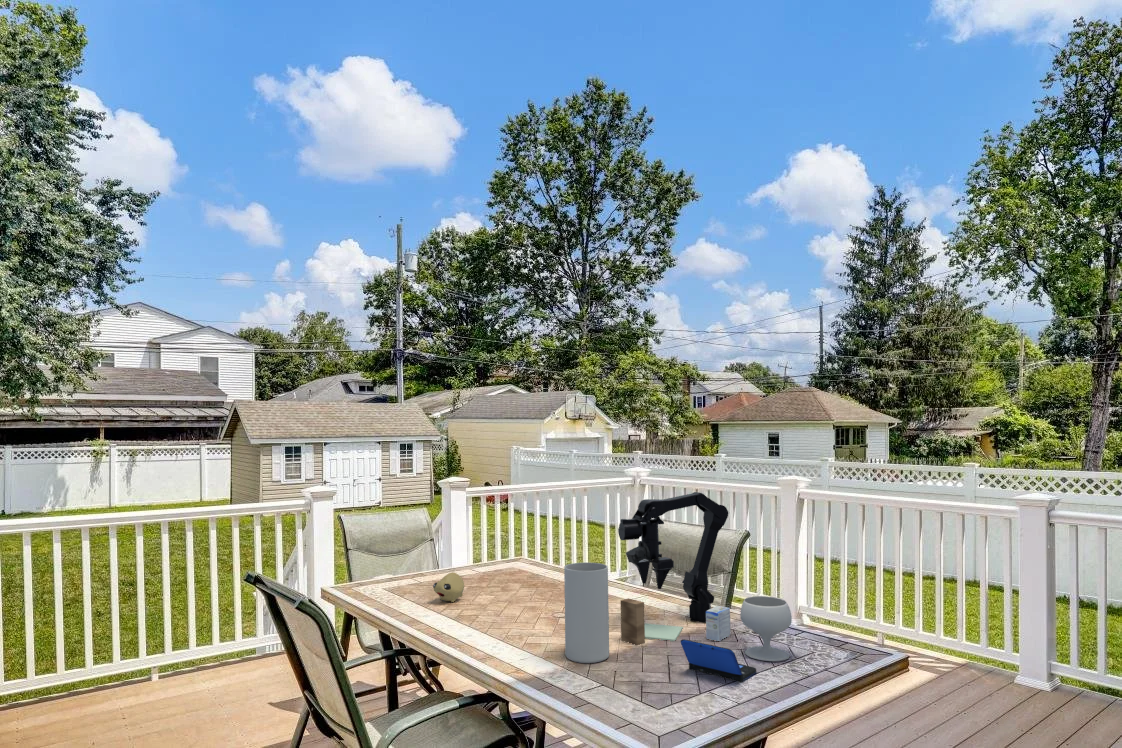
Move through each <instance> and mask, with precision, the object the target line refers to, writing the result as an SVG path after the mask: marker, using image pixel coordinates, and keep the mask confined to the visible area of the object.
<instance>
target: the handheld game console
mask: <svg viewBox="0 0 1122 748" xmlns="http://www.w3.org/2000/svg"><path fill="white" fill-rule="evenodd" d="M680 645H681V648H682V649H683V652H684V655H685V658H686V660H687V661H688V669H689V670H691V671H695V672H700V673H703V674H707V675H712V676H713V675H714V676H718V677H719V678H720V677H721V678H723V679H728V680H732V681H735V682H737V683H738V682H740V683H744V681H745V680H747V679H749V678H750V677H752V676H754V675H755V674H756V673H757V668H756V667H754V666H749V665H746V664H742V663H739V662H738V658H737V656H736V654H735V652H734V651H733V649H730V648H726V647H723V646H717V645H711V644H708V643H703V642H698V641H694V640H688V639H683V638H682V639H681V640H680Z"/></svg>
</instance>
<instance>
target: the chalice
mask: <svg viewBox="0 0 1122 748" xmlns="http://www.w3.org/2000/svg"><path fill="white" fill-rule="evenodd" d="M739 616H740V620H741V622H742V623H743V625H744V626H746V628H748V629H750V631H752V632H755V633H756V634H757V635H758V636H760V637H761V639H762V642H763V644H762V645H761V646H760V645H759V646H752V647H748V648H747V649H746V650H745V651H744V654H745V655H746V656H747V657H749V658H751V659H753V660H758V661H763V662H764V661H766V662H781V661H786V660H788V659H789V658H791V657H790V653H789V652H787V651H786V650H785V649H781V648H778V647H773V646H771V641H772V639H773V638H774V637H775V636H776V635H777V634H781V633H782V632H784V631H787V630H788V629H789V628H790V627H791V625H792V623H793V622H792V619H793V618H792V617H793V616H792V611H791V609H790V606H789V604H788V602H787V601H786V600H784V599H782V598H779V597H776V596H775V597H773V596H767V595H765V596H764V595H757V596H756V595H755V596H748V597H746V598H744V600H743V601H742V604H741V608H740V615H739Z"/></svg>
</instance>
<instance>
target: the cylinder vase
mask: <svg viewBox="0 0 1122 748" xmlns="http://www.w3.org/2000/svg"><path fill="white" fill-rule="evenodd" d="M563 571H564V572H563V573H564V579H563V580H564V641H565V642H564V651H565V653H564V654H565V657H566V658H567V659H568V660H570V661H572V662H574V663H580V664H594V663H595V664H596V663H600V662H604V661H605V660H606V659H608V658H609V657H610V624H609V623H610V621H609V619H610V618H609V615H610V614H609V613H610V611H609V607H610V606H609V566H608V565H607V564H605V563H599V562H590V561H589V562H574V563H569V564H568V563H567V564H566V565H564V569H563Z"/></svg>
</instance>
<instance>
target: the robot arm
mask: <svg viewBox="0 0 1122 748" xmlns="http://www.w3.org/2000/svg"><path fill="white" fill-rule="evenodd" d="M694 506H696V507H697V508H698V509H699V510H700V511H701V512H702V513H703V517H702V519H703V520H702V521H703V526H704V528H703V531H702V535H701V539H700V543H699V546H698V549H697V553H696V557H695V560H694V564H693V567H692V569H691V570H690V571H688V570H687V571H686V570H685V573H684V578H683V580H682V582H681V583H682V584H683V586H682V588H683V591H684V593H685V594H686V595H687V596H688V599H689V600H690V604H689V605H688V606H689V608H688V609H689V610H688V611H689V612H688V613H689V615H688V616H689V620H690V622H696V621H699V622H698V623H706V611H707V610H709V609H711V608H712V604H713V603H714V600H715V596H714V595H713V594H712V593H711V591H709V590H708V588H709V579H708V577H709V576H708V570H709V567H710V564H711V559H712V555H713V552H714V549H715V546H716V541H717V538H718V534H719V532H720V531H721V529H722V528H723V527H724V526H725V524H726V521H727V520H728V518H729V510H728V508H727V507H726V506H725V505H724V504H719V503H718V502H716V501H714V500H713V499H711V498H709V497H708V496H707V495H706V494H704V493H702V492H698V491H697V492H696V491H694V492H692V493H689V494H688V493H687V494H683V495H678V496H673V497H668V498H665V499H657V498H656V499H653V498H652V499H647V498H645V499H642V500H641V501H639V504H638V505H637V510H636V512H635V513H634V514H633V516H632V518H627V519H626V518H621V519H620V523H619V525H618V528H617V533H618V537H619V539H620V540H621V541H630V540H632V541H633V540H639V539H640V538H641V540H639V541H638V545H637V546H636V547H634V548H633V547H632V549H629V550H628V551H626V552H625V555H626V558H627V560H628V563H632V564H633V566H635V567H636V568H637V570H638V574H639V576H640V580H641V583H642V584H646V583H647V580H648V574H649V569H650V564H651V566H652V568H651V570H652V571H653V572H654V573H655V579H656V587H657V590H661V589H662V587H663V586H664V583H665V581H666V578H667V576H668V575H669V573H670V571H671V570H672V569H674V567H675V562H674V560H673V559H672V558H669V557H666V556H665V557H663V555H662V554H663V553H660V545H662V541H661V540H660V539H659V537H660V535H659V525H664V524H665V522H664V520H662V519H661V517H662V516H663V515H664V514H666V513H668V512H670V511H675V510H680V509H685V508H689V507H694ZM660 516H661V517H660Z"/></svg>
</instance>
